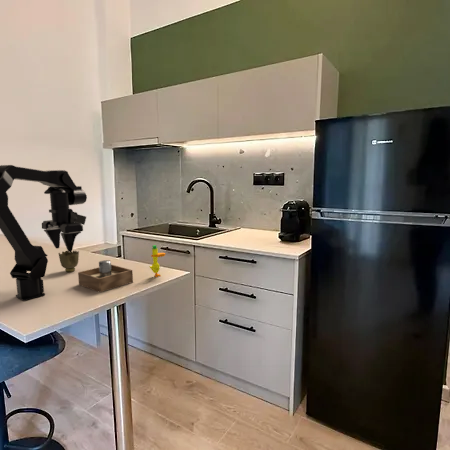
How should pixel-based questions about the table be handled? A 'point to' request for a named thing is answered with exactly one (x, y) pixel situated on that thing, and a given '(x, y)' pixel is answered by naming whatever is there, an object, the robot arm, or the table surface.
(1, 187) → the robot arm
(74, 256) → the cup
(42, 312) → the table surface
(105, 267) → the metal peg
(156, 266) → the toy figure
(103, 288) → the walnut box
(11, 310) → the table surface
